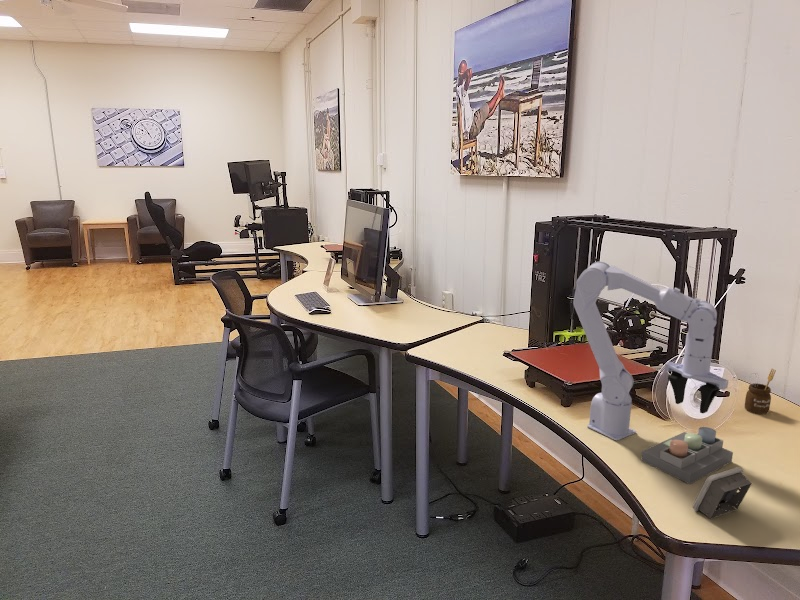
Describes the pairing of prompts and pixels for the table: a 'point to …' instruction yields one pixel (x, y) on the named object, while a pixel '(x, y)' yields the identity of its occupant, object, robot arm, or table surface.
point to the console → (688, 459)
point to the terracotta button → (678, 448)
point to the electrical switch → (722, 493)
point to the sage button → (693, 441)
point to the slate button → (707, 434)
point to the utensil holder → (759, 396)
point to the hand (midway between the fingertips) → (691, 407)
